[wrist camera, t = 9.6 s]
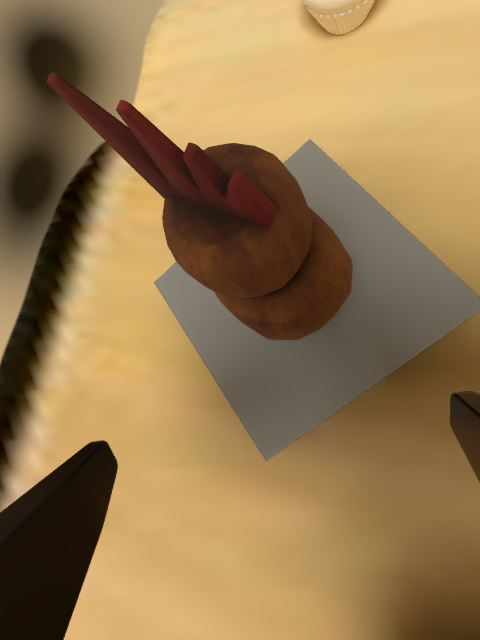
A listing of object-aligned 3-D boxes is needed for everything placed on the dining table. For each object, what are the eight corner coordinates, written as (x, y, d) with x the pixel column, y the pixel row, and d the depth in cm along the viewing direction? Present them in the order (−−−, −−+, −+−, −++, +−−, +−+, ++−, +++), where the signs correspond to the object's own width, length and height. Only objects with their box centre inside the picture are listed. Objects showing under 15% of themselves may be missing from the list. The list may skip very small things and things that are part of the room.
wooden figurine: (227, 287, 21) (-40, 125, 7) (291, 221, 20) (126, -109, 6) (298, 366, 19) (100, 345, 5) (375, 294, 18) (400, 18, 4)
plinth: (470, 315, 19) (488, 305, 16) (279, 449, 21) (265, 461, 19) (316, 166, 23) (309, 138, 21) (176, 292, 26) (154, 282, 23)
